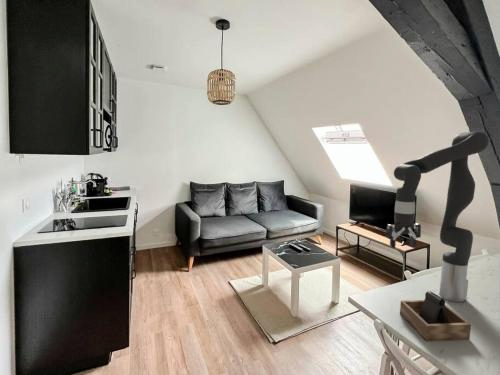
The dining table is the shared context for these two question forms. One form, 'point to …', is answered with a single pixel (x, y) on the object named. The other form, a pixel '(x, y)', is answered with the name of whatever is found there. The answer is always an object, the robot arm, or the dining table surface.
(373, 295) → the dining table surface
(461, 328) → the walnut box
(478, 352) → the dining table surface
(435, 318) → the door stopper
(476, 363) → the dining table surface
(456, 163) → the robot arm
